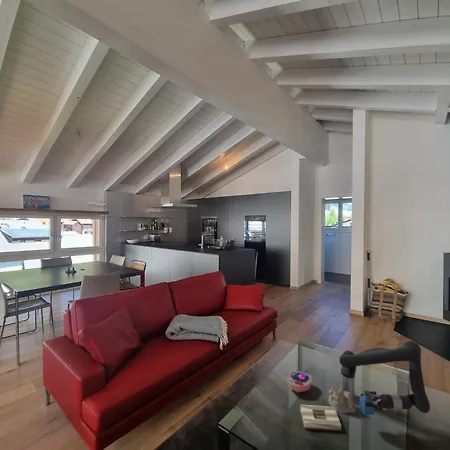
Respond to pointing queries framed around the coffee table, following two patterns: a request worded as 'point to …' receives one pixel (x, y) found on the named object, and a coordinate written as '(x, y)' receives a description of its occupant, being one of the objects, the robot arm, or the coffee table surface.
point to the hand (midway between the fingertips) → (363, 400)
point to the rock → (341, 401)
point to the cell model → (299, 381)
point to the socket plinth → (320, 418)
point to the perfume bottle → (363, 407)
